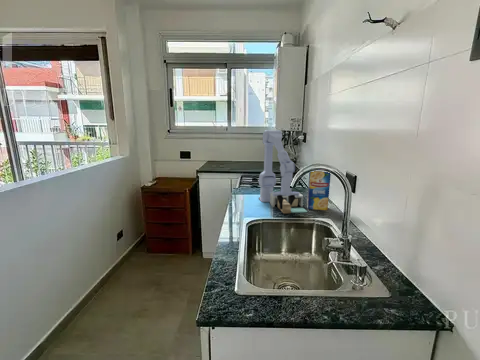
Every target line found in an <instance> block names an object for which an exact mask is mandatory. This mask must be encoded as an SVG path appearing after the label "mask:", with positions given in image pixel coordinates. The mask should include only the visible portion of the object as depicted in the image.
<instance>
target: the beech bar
mask: <svg viewBox="0 0 480 360" xmlns="http://www.w3.org/2000/svg"><path fill="white" fill-rule="evenodd" d="M276 206H277V208H278V209H279V210H280V211H281V212H282V213H283V214H292V213H291V208H292V206H291V205H290V204H289V203H288V202H287V201H286V200H285V199H283V204H282V209H280V205H279V201H278V204H276Z"/></svg>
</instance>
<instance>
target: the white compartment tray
mask: <svg viewBox="0 0 480 360" xmlns="http://www.w3.org/2000/svg"><path fill="white" fill-rule="evenodd" d="M282 197H283V199H285V200H286V201H287V202H288V196H282ZM269 204H270V206H271V207H272V208H275V207H276V206H275V205H277V204H278V198H277V196H273V193H270V202H269ZM298 206H299V207H300V208H304V195H303V194H302V193H300V194H299V196H295V200H294V201H293V203H292V205H291V207H298Z"/></svg>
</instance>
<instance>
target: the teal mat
mask: <svg viewBox="0 0 480 360" xmlns="http://www.w3.org/2000/svg"><path fill="white" fill-rule="evenodd" d="M294 213H295V214H299V213H308V210H307V209H305V208H304V207H291V213H290V214H294Z"/></svg>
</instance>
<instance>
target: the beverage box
mask: <svg viewBox="0 0 480 360" xmlns="http://www.w3.org/2000/svg"><path fill="white" fill-rule="evenodd" d="M331 174H332V173H331ZM331 174H330V173H328V172H325V171H314V172H310V173H308V186H307V198H306V199H307V200H306V207H307V209H308V210H316V211H317V210H318V211H319V210H321V211H328V207H329V198H330V185H331V176H332V175H331Z"/></svg>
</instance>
